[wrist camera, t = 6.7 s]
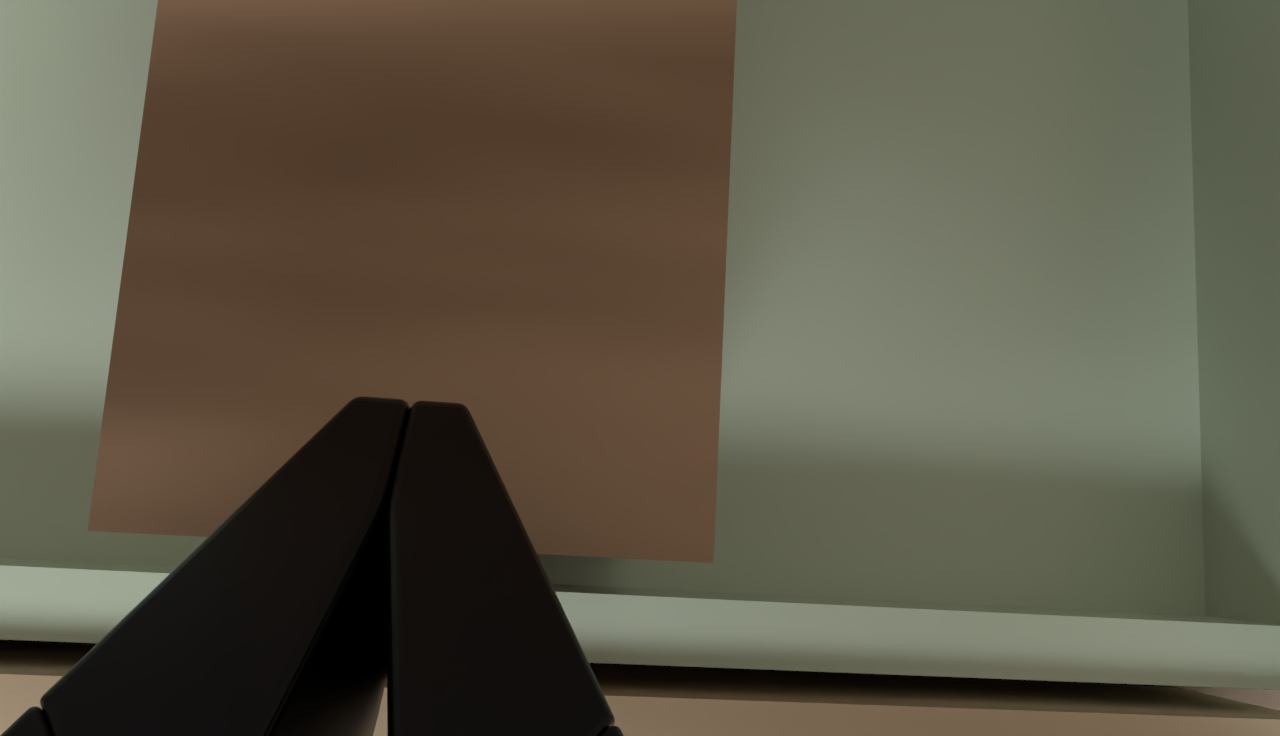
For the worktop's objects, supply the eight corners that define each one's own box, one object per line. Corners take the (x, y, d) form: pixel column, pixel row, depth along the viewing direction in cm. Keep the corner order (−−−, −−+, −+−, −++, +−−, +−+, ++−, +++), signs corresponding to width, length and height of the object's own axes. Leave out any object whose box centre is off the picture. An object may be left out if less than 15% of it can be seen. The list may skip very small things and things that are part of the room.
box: (1233, 668, 16) (1551, 727, 12) (-541, 595, 13) (-1134, 630, 9) (1206, -166, 19) (1460, -415, 14) (-323, -389, 16) (-693, -809, 11)
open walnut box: (713, 562, 9) (756, -465, 11) (87, 531, 8) (231, -555, 10) (626, 551, 15) (662, -110, 17) (253, 531, 14) (328, -154, 16)
